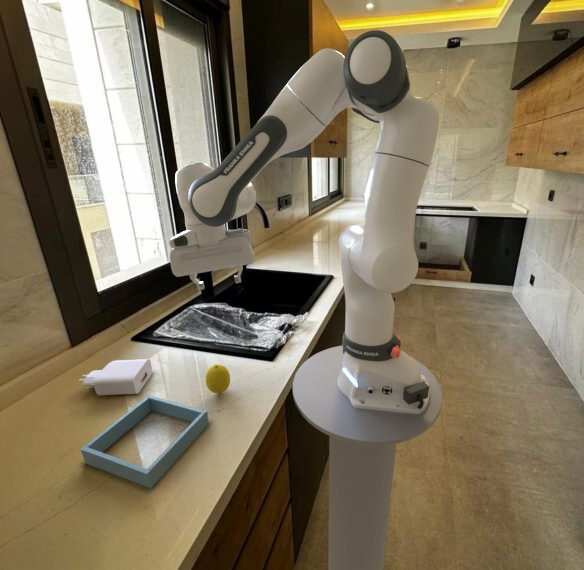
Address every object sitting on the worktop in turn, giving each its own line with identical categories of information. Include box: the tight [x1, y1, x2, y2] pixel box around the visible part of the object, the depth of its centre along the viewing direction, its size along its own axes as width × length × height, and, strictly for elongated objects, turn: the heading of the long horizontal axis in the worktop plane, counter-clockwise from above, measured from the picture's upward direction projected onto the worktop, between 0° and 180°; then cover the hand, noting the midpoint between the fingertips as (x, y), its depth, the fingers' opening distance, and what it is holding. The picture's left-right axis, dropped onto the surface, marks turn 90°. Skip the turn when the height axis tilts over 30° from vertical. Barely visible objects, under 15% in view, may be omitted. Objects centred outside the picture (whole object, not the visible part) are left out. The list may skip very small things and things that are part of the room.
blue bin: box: [80, 394, 210, 489], centre depth 65 cm, size 16×16×4 cm
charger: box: [77, 358, 153, 396], centre depth 81 cm, size 5×9×15 cm
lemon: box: [205, 364, 231, 394], centre depth 78 cm, size 6×6×8 cm
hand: (220, 285), depth 86 cm, fingers open, 8 cm apart
